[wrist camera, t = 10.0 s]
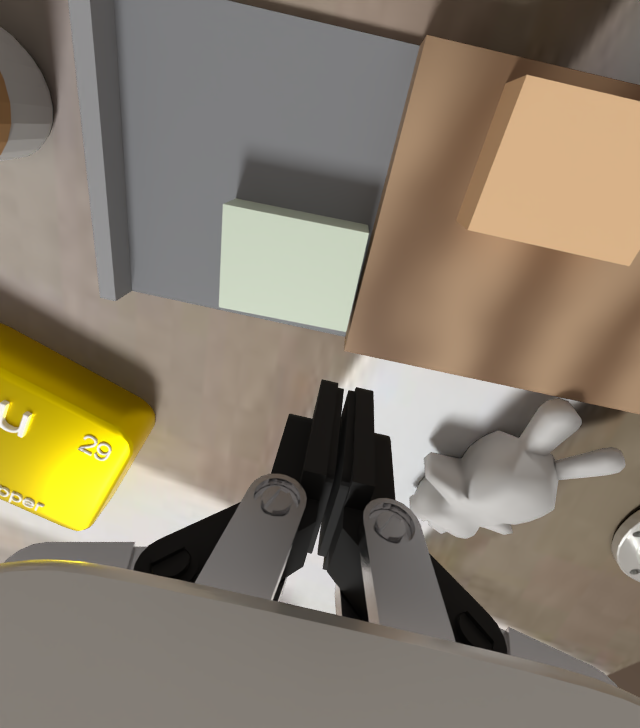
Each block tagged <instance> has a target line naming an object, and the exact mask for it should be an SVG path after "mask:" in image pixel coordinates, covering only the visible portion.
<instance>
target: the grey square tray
mask: <svg viewBox="0 0 640 728" xmlns="http://www.w3.org/2000/svg"><path fill="white" fill-rule="evenodd" d="M68 4H69V13H70V22H71V31H72V41H73V50H74V59H75V68H76V78H77V87H78V96H79V106H80V115H81V124H82V133H83V143H84V152H85V161H86V170H87V180H88V189H89V198H90V208H91V217H92V226H93V235H94V245H95V254H96V263H97V272H98V282H99V291H100V298H104V299H109V300H113V301H117V300H118V299H120V298H121V297H123V296H124V295H126V294H127V293H129V292H130V291H136V292H140V293H145V294H149V295H154V296H159V297H163V298H168V299H173V300H177V301H182V302H187V303H191V304H196V305H200V306H205V307H210V308H214V309H219V310H224V311H228V312H233V313H238V314H242V315H247V316H251V317H256V318H261V319H265V320H270V321H275V322H279V323H284V324H288V325H293V326H298V327H302V328H307V329H312V330H316V331H321V332H326V333H330V334H335V335H339V336H344V337H345V335H346V332H343V331H337V330H332V329H327V328H322V327H317V326H312V325H307V324H302V323H297V322H292V321H287V320H281V319H276V318H271V317H266V316H261V315H256V314H251V313H246V312H241V311H236V310H231V309H225V308H220V307H219V288H220V263H221V238H222V214H223V204H224V203H226V202H229V201H231V200H233V199H235V198H237V199H242V200H247V201H252V202H256V203H261V204H266V205H271V206H276V207H281V208H286V209H291V210H296V211H301V212H306V213H311V214H316V215H321V216H326V217H331V218H336V219H341V220H346V221H351V222H356V223H361V224H366V225H368V228H369V236H368V240H367V245H366V249H365V253H364V258H363V262H362V266H361V270H360V275H359V279H358V283H357V288H358V285H359V281H360V277H361V273H362V269H363V265H364V261H365V257H366V253H367V250H368V246H369V242H370V238H371V234H372V230H373V226H374V222H375V218H376V215H377V211H378V207H379V203H380V199H381V195H382V191H383V187H384V183H385V179H386V176H387V172H388V168H389V164H390V160H391V156H392V152H393V148H394V144H395V141H396V137H397V133H398V129H399V125H400V121H401V117H402V113H403V109H404V106H405V102H406V98H407V94H408V90H409V86H410V82H411V78H412V74H413V71H414V67H415V63H416V59H417V55H418V51H419V47H420V46H419V45H415V44H410V43H406V42H402V41H398V40H393V39H389V38H385V37H381V36H376V35H372V34H368V33H364V32H359V31H355V30H351V29H347V28H343V27H338V26H334V25H330V24H326V23H321V22H317V21H313V20H309V19H304V18H300V17H296V16H292V15H287V14H283V13H279V12H275V11H270V10H266V9H262V8H258V7H254V6H249V5H245V4H241V3H237V2H232V1H228V0H68ZM357 288H356V292H357ZM356 292H355V296H356ZM355 296H354V300H355ZM354 300H353V304H354ZM352 308H353V305H352ZM351 312H352V309H351ZM350 316H351V313H350ZM349 320H350V318H349ZM348 323H349V322H348ZM347 327H348V326H347Z"/></svg>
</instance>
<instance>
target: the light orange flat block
mask: <svg viewBox="0 0 640 728" xmlns="http://www.w3.org/2000/svg"><path fill="white" fill-rule="evenodd" d="M456 221H457V222H458V223H459V224H460V225H462V226H463V227H464V228H466V229H467V230H470V231H474V232H479V233H483V234H487V235H492V236H496V237H501V238H505V239H510V240H514V241H519V242H523V243H528V244H532V245H536V246H541V247H545V248H550V249H554V250H559V251H563V252H568V253H572V254H577V255H581V256H585V257H590V258H594V259H599V260H603V261H608V262H612V263H617V264H621V265H626V266H630V265H631V263H632V261H633V260H634V258H635V257H636V255H637V253H638V252H639V250H640V101H636V100H632V99H628V98H624V97H619V96H615V95H611V94H607V93H602V92H598V91H594V90H590V89H585V88H581V87H577V86H573V85H568V84H564V83H560V82H556V81H552V80H547V79H543V78H539V77H535V76H530V75H525V76H523V77H520V78H518V79H515V80H513V81H511V82H508V83H506V84H505V86H504V89H503V92H502V95H501V97H500V100H499V103H498V106H497V108H496V111H495V114H494V117H493V119H492V122H491V125H490V128H489V131H488V133H487V136H486V139H485V142H484V144H483V147H482V150H481V153H480V155H479V158H478V161H477V164H476V167H475V169H474V172H473V175H472V178H471V180H470V183H469V186H468V189H467V191H466V194H465V197H464V200H463V202H462V205H461V208H460V211H459V214H458V216H457V219H456Z"/></svg>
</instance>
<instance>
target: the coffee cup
mask: <svg viewBox="0 0 640 728" xmlns="http://www.w3.org/2000/svg"><path fill="white" fill-rule="evenodd" d="M52 123H53V105H52V101H51V96H50V91H49V89H48V86H47V84H46V81H45V79H44V77H43V74H42V72H41V71H40V69H39V68H38V66H37V65H36V63H35V61H34V60H33V58H32V57H31V56H30V55H29V54H28V53H27V51H26V50H25V49H24V48H23V47H22V46H21V45H20V44H19V43H18V41H17V40H16V39H15V38H14V37H13V36H12V35H11V34H10V33H8V32H7V31H5V30H4V29H3V28H1V27H0V161H2V160H10V159H17V158H22V157H26V156H30V155H31V154H33V153H34V152H36V151H37V150H39V149H40V147H41V146H42V144H43V143H44V142H45V140H46V139H47V137H48V136H49V134H50V130H51V127H52Z"/></svg>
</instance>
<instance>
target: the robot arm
mask: <svg viewBox="0 0 640 728" xmlns="http://www.w3.org/2000/svg"><path fill="white" fill-rule="evenodd" d="M343 392H344V389H341V388H338V383H335V382H331V381H326V380H322V381H321V385H320V389H319V393H318V397H317V402H316V406H315V410H314V415H313V419H311V418H307V417H302V416H298V415H293V414H289V416H288V419H287V423H286V426H285V429H284V433H283V436H282V439H281V442H280V446H279V449H278V452H277V456H276V459H275V462H274V466H273V469H272V472H271V474H268V475H264V476H261V477H260V478H258V479H256V480H255V481H254V482H253V483H252V484H251V486H250V487H249V489H248V490H247V492H246V494H245V496H244V497H243V499H242V501H241V502H240V503H238V504H235V505H233V506H231V507H229V508H227V509H224V510H222V511H220V512H218V513H216V514H214V515H211V516H209V517H207V518H205V519H203V520H200V521H198V522H196V523H194V524H192V525H189V526H187V527H185V528H183V529H181V530H178V531H176V532H174V533H172V534H170V535H167V536H165V537H163V538H161V539H159V540H157V541H155V542H154V543H152V544H150V545H149V546H148V547H135V542H44V543H38V544H33V545H30V546H28V547H26V548H23V549H21V550H19V551H18V552H16V553H15V554H13V555H12V556H11V557H9V558H8V559H7V560H6V561H5V562H4V563H1V564H0V728H640V698H639V697H637V696H635V695H633V694H631V693H629V692H626V691H624V690H622V689H620V688H618V687H617V686H616V684H615V683H614V682H613V681H612V680H611V679H609V677H607V676H606V675H605V674H604V673H603V672H601V671H599V670H598V669H596V668H595V667H593V666H591V665H589V664H587V663H585V662H583V661H581V660H578V659H576V658H574V657H572V656H570V655H568V654H566V653H563V652H561V651H559V650H557V649H555V648H553V647H550V646H548V645H546V644H544V643H542V642H540V641H538V640H535V639H533V638H531V637H529V636H527V635H525V634H523V633H520V632H518V631H516V630H514V629H512V628H510V627H508V628H507V629H506V630H503V629H500V628H499V626H498V625H497V623H496V622H495V621H494V620H493V618H492V617H491V616H490V615H489V614H488V613H487V612H486V611H485V610H484V609H483V608H482V607H481V606H480V604H479V603H478V602H477V601H476V600H475V599H474V598H473V597H472V596H471V595H470V594H469V593H468V592H467V591H466V590H465V589H464V588H463V587H462V586H461V585H460V584H459V583H458V582H457V581H456V580H455V579H454V578H453V577H452V576H451V575H450V574H449V573H448V572H447V571H446V570H445V569H444V568H443V567H442V566H441V565H440V564H439V563H438V562H437V561H436V560H435V559H434V558H433V557H432V556H431V555H430V554H429V552H428V548H427V545H426V542H425V539H424V535H423V532H422V529H421V525H420V523H419V521H418V519H417V517H416V516H415V514H414V513H413V512H412V511H411V510H410V509H409V508H408V507H406V506H405V505H404V504H402V503H400V502H398V501H396V500H395V490H394V477H393V465H392V452H391V441H390V437H389V436H386V435H381V434H377V433H374V400H373V391H371V390H366V389H362V388H357V387H356V389H355V391H350V390H349V391H348V394H347V397H346V401H345V404H344V408H343V411H342V402H343ZM341 412H342V415H341ZM320 525H321V529H320V537H319V545H318V555H320V556H324V563H323V569H324V570H327V572H328V574H329V575H330V576H331V578H332V579H333V580H334V582H335V583H336V586H335V606H336V615H335V614H330V613H326V612H321V611H317V610H313V609H308V608H304V607H299V606H295V605H291V604H286V603H282V602H279V600H280V597H281V594H282V592H283V589H284V586H285V583H286V579H287V577H288V576H289V575H291V574H292V573H294V572H295V571H297V570H298V569H300V568H301V567H303V566H304V562H305V559H306V555H307V553H311V554H312V551H313V548H314V545H315V541H316V538H317V535H318V532H319V528H320ZM612 553H613V556H614V559H615V560H616V562H617V563H618V565H619V567H620V568H621V570H622V571H623V572H624V573H625V574H626V575H627V576H629V577H631V578H633V579H634V580H636V581H639V582H640V510H638V511H637V512H635V513H634V514H633V515H631V516H630V517H629V518H628V519H627V520H626V521H625V522H624V523H623V524H622V525H621V526H620V527H619V529H618V530H617V532H616V533H615V535H614V538H613V541H612Z"/></svg>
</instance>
